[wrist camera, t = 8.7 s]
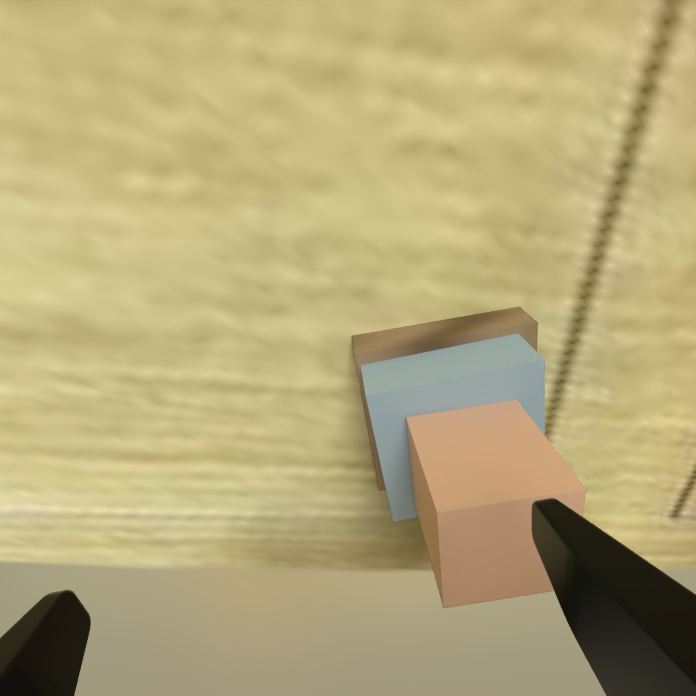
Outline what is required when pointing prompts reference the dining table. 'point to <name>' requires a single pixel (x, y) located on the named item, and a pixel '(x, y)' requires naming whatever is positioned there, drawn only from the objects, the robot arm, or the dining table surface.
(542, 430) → the blue slab
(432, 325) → the walnut slab
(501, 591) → the clay block
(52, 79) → the dining table surface
